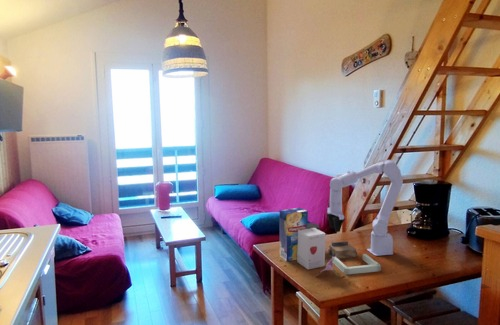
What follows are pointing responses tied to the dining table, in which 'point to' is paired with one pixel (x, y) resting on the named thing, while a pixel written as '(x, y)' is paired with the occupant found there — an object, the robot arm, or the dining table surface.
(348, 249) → the cart
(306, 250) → the supplement box
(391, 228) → the dining table surface
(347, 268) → the bay
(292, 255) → the beverage box
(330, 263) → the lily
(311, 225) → the jar
